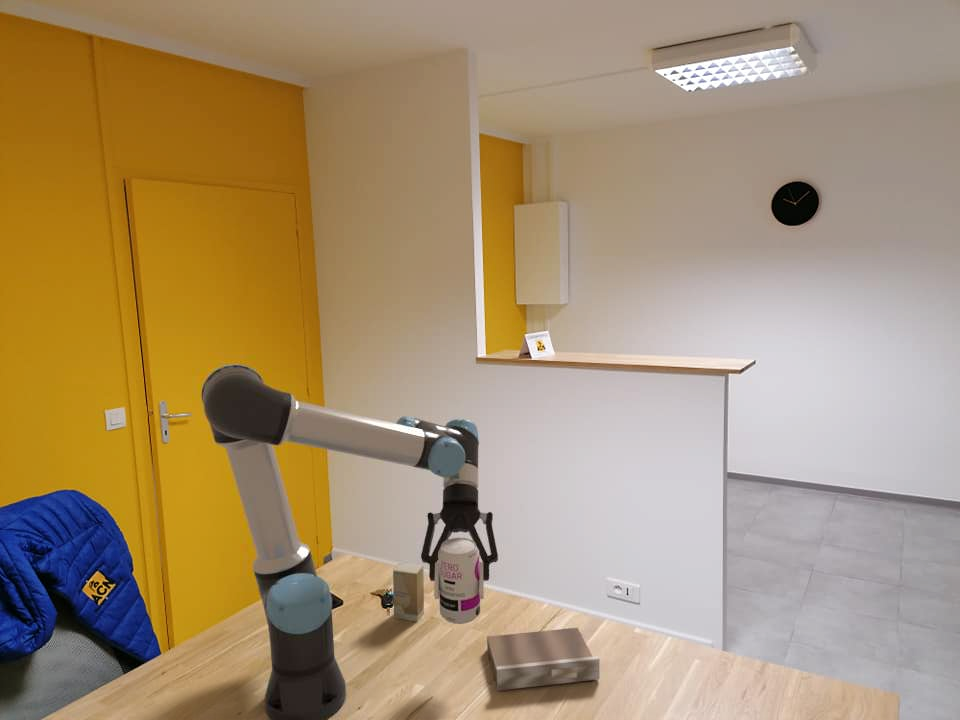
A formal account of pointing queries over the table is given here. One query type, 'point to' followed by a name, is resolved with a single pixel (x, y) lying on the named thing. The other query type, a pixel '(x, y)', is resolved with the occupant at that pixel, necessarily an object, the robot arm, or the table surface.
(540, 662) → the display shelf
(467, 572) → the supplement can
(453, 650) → the table surface
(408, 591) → the skincare box
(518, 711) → the table surface
